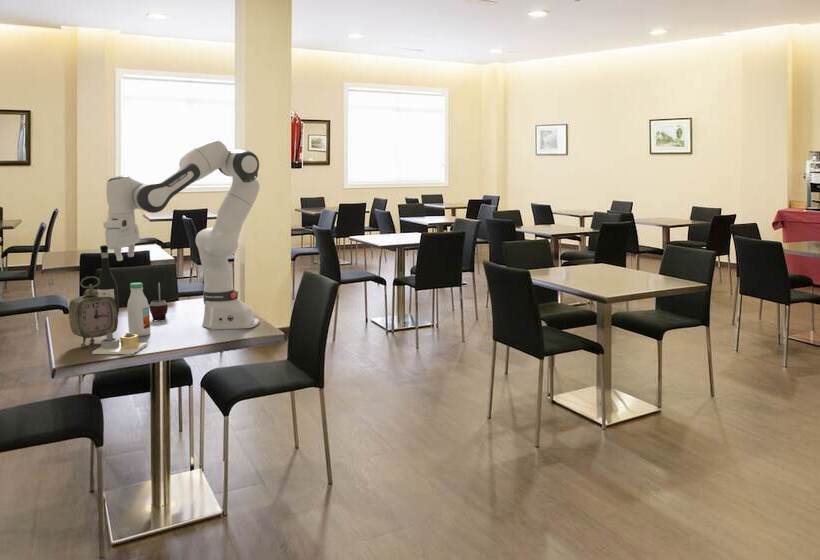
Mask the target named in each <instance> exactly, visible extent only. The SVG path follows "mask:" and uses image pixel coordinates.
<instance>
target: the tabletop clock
mask: <svg viewBox="0 0 820 560" xmlns="http://www.w3.org/2000/svg"><path fill="white" fill-rule="evenodd" d="M99 278H100V277H97V276H91V275H90V276H89V275H88V276H85V277H84V278H82V279H81V281H80V286H81V287H82V288H83V289H86V290H85V291H84V292H83V294H82V296H77V297H74V298H72V299H70V301H69V304H68V321H69V326H70V330H71V332H72V334H73V335H76V336H78V337H81V338H82V339H83V340H82V343H81V345H80V348H82V349H84V348H86V346H87V345H86V341H87V339H90V340H89V343H91V344H94V343H95V342H96V341H95V339H94V338H100V337H103V336H104V337H105V336H106V333H110V332H111V333H115V332H117V329H118V325H119V312H117V305H116V302H115V300H114V298H112V297H109V296H105V295H100V294H99V292H98V291H97V289H95V288H97V286H98V285H99V283H100V280H99ZM89 279H95V280H97V284H95V285H93V284H92V283H89V284H88V285H87V286H86V285H83V282H84V281H85V280H89ZM98 281H99V282H98Z"/></svg>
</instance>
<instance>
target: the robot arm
mask: <svg viewBox="0 0 820 560" xmlns="http://www.w3.org/2000/svg"><path fill="white" fill-rule="evenodd" d="M182 156H183V155H182ZM178 163H179V164H178V165H179V168H178V170H177V171H176V172H175V173H173V174H172V175H169V176H168V177H167V178H166V179H164V180H162V181H161V182H158V183H155V184H154V183H153V184H152V183H151V184H148V183H144V182H140V181H137V180H135V179H133V178H131V177H130V176H129V175H125V174H124V175H117V176H113V177H111V178H109V179H108V180H107V182H106V190H105V191H106V192H105V193H106V202H107V205H108V211H107V216H108V217H107V218H106V219H105V221H104V222H103V229H105V232H104V234H105V243H106V246H107V247H108V250H113V252H114V254H115V256H116V261H117V262H121V261H123V260H124V255H122V249H123V248H126V247H128V249H127V251H128V252H127V257H128V258H132V257H134V256H135V247H136V245H135V244H138V243H140V240H141V239H140V231H139V227H138V224H137V223H136V217H135V216H136V215H135V210H141V211H145V212H148V213H152V214H153V213H154V214H155V213H156V214H157V213H159V212H162V211H163V210H164V209H165V208H166V207H167V205H168V204H169V202H170V200H171V199H172V198H173V197H174V196H176V195H177V194H179V193H180V192H182V191H184V189H185V188H187V187H188V186H189V185H191V184H193V183H195V182H197V181H200V180H201V179H204V178H205V177H207V176H209V175H210V174H212V173H213V172H215V171H217V170H218V171H219V172H220V173H221V174H223V175H224V176H226V177H232V180H231V181H232V182H231V186H230V188H229V190H228V191H227V193H226V194H225V197H224V198H223V200H222V202H221V204H220V206H219V208H218V209H217V214H216V215H217V216H216V220H215V223H214V226H213V227H207V228H204V229H202V230H200V231H199V232H198V233H197V234H196V236H195V245H196V247H197V250H198V255H199V259H200V263H201V268H202V274H203V286H204V287H203V288H204V290H203V295H202V297H203V305H204V312H203V320H202V324H201V326H202V327H204V328H208V329H209V330H211V331H212V330H215V331H216V330H236V329H237V330H239V329H251V328H254V327H257V326H258V325H259V324H260V320H259V318H255V317H254V312H253V309H252V307H251V306H249V305H248V304H247V303H245V302H244V301H242V300H240V299H239V290H237V291H236V289H233V272H232V271H233V270H232V267H231V266H230V263H229V259H228V258H229V257H231V256H233V255H234V254H235V253H236V252H237V250H238V246H239V243H238V240H239V237H240V233H241V230H242V228H243V224H244V223H245V220H246V219H247V218H248V215H249V213H250V212H251V210H252V208H253V206H254V204H255V201H256V200H257V197H258V194H259V191H260V183H259V181H258V180H257V177H258V176H259V175H258V174H259V169H260V160H259V158H258V156H257V155H256V154H255V153H254V152H252V151H251V150H247V149H238V148H237V149H228V148H227V146H226V145H225V144H224V142H222V141H220V140H218V139H212V140H209V141H207V142H204V143H201V144H200V145H198V146H197V147H194V148H193V149H191V150H189V151H188V152H187V153H185V154H184V156H183V157H181V158H180V160H179V162H178Z"/></svg>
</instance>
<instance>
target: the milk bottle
mask: <svg viewBox="0 0 820 560" xmlns="http://www.w3.org/2000/svg"><path fill="white" fill-rule="evenodd" d="M129 287H130V288H129V289H130V295H129V298H128V301H127V306H126V308H127V310H126V311H127V322H128V323H127V324H128V333H132V334H136V335H138V337H144V336H148V335H150V334H151V321H150V320H151V319H150V305H149V302H148V299H147V297H146V296H145V294H144V291H143V290H144V284H143V282H131V283H130V284H129Z"/></svg>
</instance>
